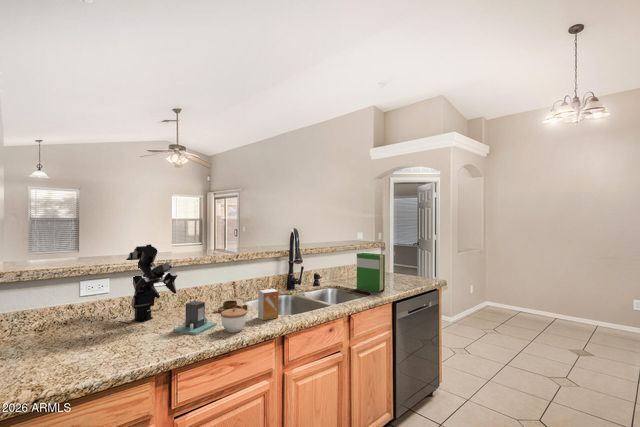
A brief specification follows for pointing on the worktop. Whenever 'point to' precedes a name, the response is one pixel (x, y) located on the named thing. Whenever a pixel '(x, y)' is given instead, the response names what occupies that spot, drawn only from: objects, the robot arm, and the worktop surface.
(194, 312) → the plate
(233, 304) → the place setting
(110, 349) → the worktop surface
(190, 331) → the pin tray
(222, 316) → the lidded jar
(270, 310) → the small box
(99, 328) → the worktop surface
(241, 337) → the worktop surface
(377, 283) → the hardback book
